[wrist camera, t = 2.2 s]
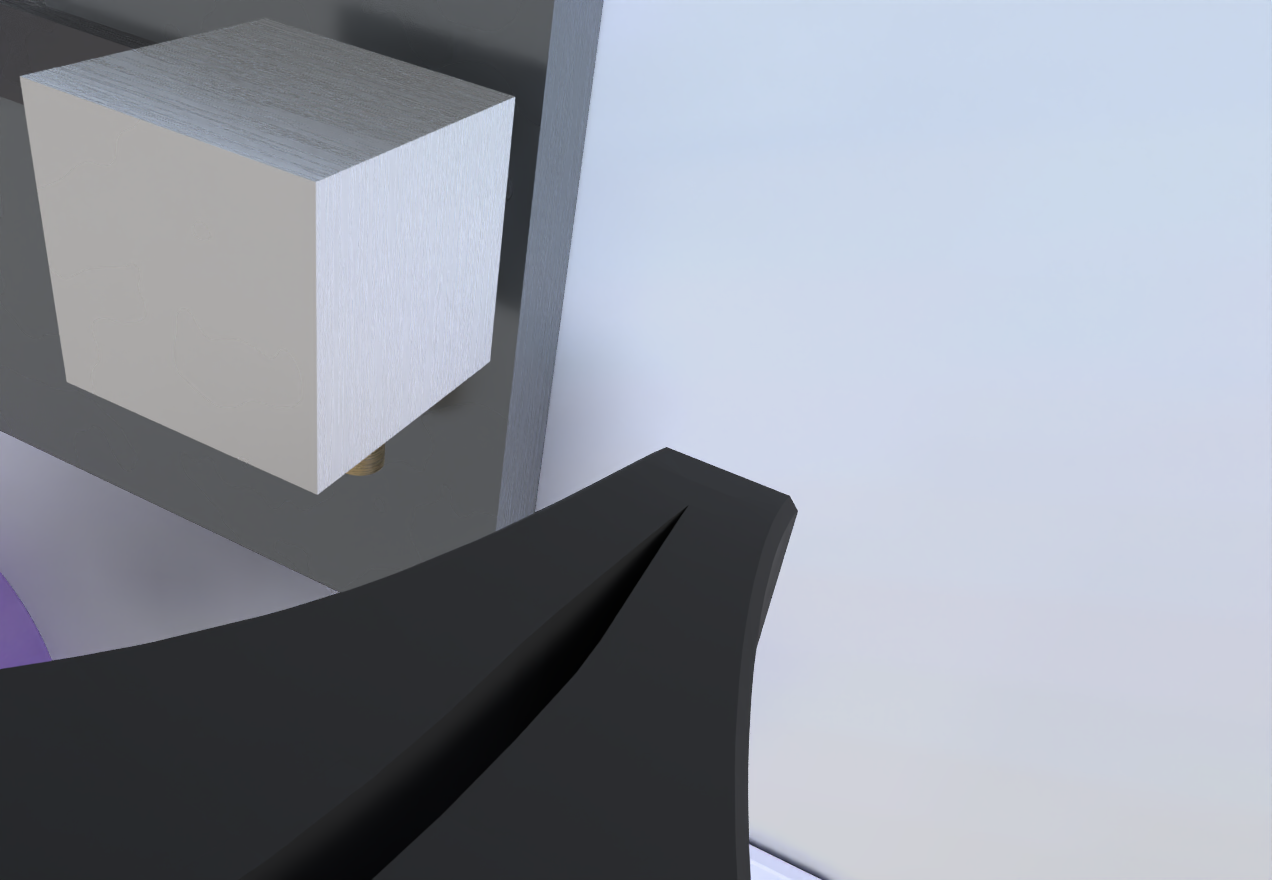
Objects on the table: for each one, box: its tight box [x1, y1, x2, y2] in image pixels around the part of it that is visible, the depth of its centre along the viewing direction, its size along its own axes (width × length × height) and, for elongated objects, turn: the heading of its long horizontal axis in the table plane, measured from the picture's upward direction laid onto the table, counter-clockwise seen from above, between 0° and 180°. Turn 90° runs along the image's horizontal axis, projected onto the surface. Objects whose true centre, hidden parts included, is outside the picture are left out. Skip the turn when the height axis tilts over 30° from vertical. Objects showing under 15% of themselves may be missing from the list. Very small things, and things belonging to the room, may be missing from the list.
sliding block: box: [20, 18, 515, 495], centre depth 15 cm, size 6×4×4 cm, turn 170°
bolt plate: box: [0, 0, 603, 593], centre depth 18 cm, size 14×18×6 cm
